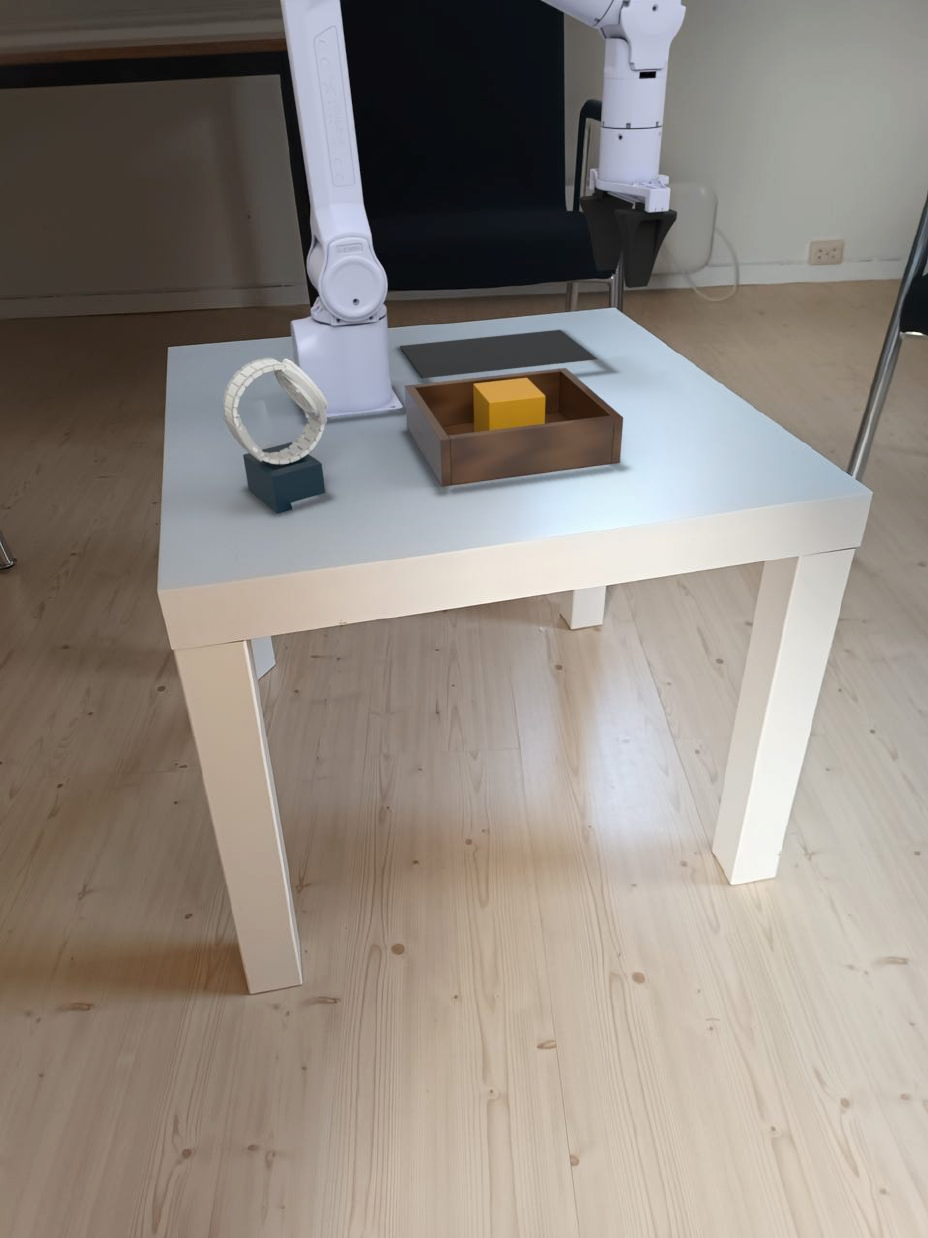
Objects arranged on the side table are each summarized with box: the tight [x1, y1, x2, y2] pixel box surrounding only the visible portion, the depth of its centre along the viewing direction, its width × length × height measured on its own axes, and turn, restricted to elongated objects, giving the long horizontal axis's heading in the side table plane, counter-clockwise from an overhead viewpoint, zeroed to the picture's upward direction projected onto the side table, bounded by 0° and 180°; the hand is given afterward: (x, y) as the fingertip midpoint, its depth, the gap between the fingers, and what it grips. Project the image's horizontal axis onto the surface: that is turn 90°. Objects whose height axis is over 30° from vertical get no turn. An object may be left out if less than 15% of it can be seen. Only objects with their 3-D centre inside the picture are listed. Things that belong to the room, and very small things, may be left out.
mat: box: [399, 329, 598, 379], centre depth 104 cm, size 20×16×1 cm
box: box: [404, 367, 624, 488], centre depth 81 cm, size 16×14×5 cm
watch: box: [222, 357, 328, 514], centre depth 73 cm, size 6×8×11 cm
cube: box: [473, 378, 545, 432], centre depth 81 cm, size 5×5×5 cm
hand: (620, 277), depth 93 cm, fingers open, 7 cm apart
